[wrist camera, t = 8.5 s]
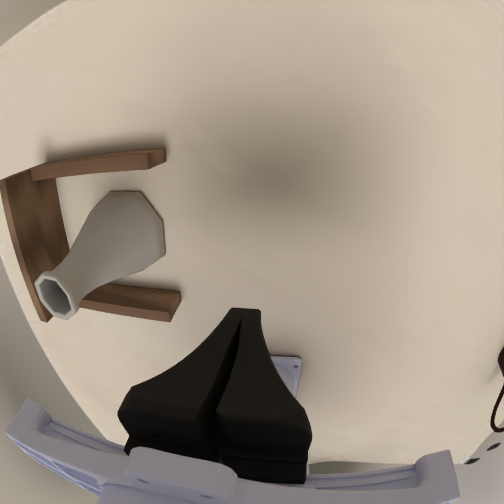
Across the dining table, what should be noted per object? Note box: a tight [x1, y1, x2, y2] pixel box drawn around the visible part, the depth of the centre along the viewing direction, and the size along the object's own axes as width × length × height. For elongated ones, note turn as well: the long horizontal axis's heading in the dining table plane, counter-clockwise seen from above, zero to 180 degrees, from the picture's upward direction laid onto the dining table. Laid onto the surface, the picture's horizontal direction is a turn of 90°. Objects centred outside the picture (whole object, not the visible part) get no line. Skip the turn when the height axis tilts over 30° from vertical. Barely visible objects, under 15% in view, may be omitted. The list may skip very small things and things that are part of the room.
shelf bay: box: [0, 148, 181, 322], centre depth 20 cm, size 13×12×6 cm
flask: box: [34, 192, 165, 320], centre depth 18 cm, size 7×7×10 cm
